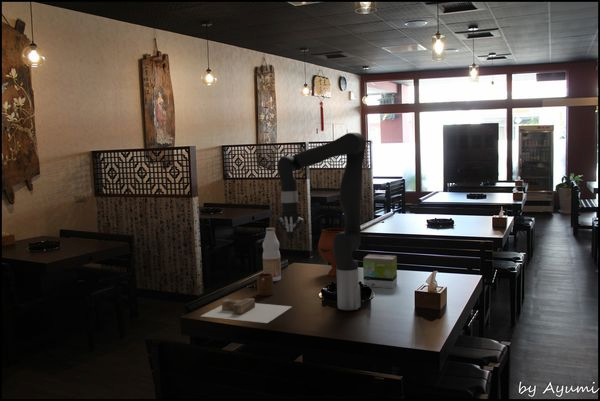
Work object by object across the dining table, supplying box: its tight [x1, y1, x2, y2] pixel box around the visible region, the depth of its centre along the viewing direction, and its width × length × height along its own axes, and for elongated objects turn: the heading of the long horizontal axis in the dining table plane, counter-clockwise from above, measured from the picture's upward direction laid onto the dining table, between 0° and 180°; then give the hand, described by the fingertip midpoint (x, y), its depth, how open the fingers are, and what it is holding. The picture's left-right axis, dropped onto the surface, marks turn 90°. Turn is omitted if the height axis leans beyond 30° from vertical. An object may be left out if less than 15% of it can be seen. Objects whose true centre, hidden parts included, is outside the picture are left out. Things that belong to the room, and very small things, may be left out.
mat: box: [200, 302, 293, 324], centre depth 233 cm, size 32×24×1 cm
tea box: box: [362, 254, 398, 289], centre depth 269 cm, size 15×10×15 cm
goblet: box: [317, 227, 345, 277], centre depth 297 cm, size 19×19×25 cm
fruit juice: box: [262, 227, 282, 282], centre depth 289 cm, size 9×9×28 cm
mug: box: [256, 273, 274, 297], centre depth 259 cm, size 12×8×9 cm, turn 175°
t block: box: [221, 297, 256, 315], centre depth 236 cm, size 12×12×4 cm
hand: (291, 239), depth 241 cm, fingers closed
